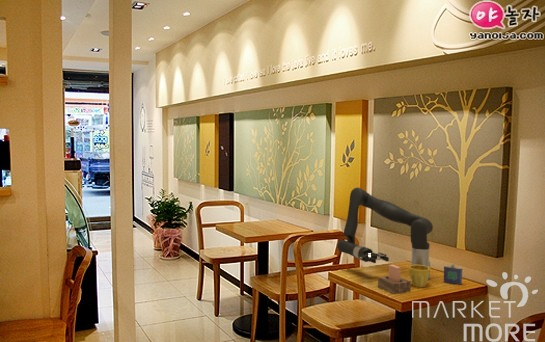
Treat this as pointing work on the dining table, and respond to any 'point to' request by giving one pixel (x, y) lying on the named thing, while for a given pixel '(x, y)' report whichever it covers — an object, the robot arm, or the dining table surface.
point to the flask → (453, 275)
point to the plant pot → (419, 275)
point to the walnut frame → (394, 285)
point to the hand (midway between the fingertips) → (381, 260)
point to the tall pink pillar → (394, 273)
